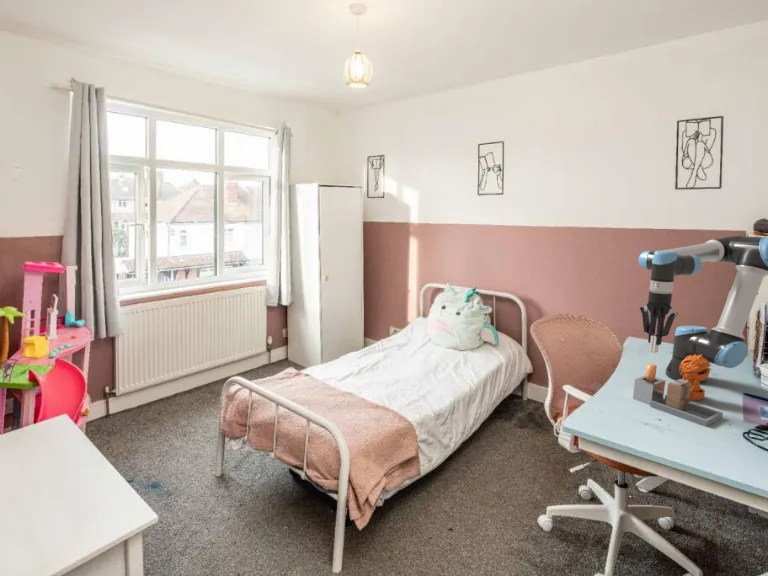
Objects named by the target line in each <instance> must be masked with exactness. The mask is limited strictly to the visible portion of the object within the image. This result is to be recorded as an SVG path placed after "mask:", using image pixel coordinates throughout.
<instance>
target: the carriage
mask: <svg viewBox="0 0 768 576" xmlns="http://www.w3.org/2000/svg"><path fill="white" fill-rule="evenodd" d="M691 385H692V383H690V382H688V381H685V380H682V379H678V380H673V381H671V382H669V383H667V389H666V395H667V396H666V400H665V404H664V405H667V406H669V407H672V408H675V409H678V410H681V411H684V412H685V411H687V410H688V409H689V408H688V407H689V402H690V401H691V400H690V393H691Z"/></svg>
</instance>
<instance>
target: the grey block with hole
mask: <svg viewBox="0 0 768 576" xmlns="http://www.w3.org/2000/svg"><path fill="white" fill-rule="evenodd" d="M665 386H666V379H662V378H658V377H656V376H655V381H654V382H650V381H647V380H646V374H645V375H643V376H641V377H637V378H635V379H634V385H633V394H632V399H633V400H635V399H636V401H639V402H642V403H643V404H646V405H649V406H650V403H651V401H655V402H658V403H660V402H661V401H664V397H665V388H666V387H665Z"/></svg>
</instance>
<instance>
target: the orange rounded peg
mask: <svg viewBox="0 0 768 576" xmlns="http://www.w3.org/2000/svg"><path fill="white" fill-rule="evenodd" d="M656 374H657V365H656V364H653V363H647V364H646V371H645V375H646V380H647V381H650V382H654V381H655V377H656Z"/></svg>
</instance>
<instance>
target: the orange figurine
mask: <svg viewBox="0 0 768 576" xmlns="http://www.w3.org/2000/svg"><path fill="white" fill-rule="evenodd" d="M701 356H702V355H698V356H697V355H696V354H694V356H692V355H690V356H687V357H686V358H685V359H684V360H683V361H682V362H681V364H680V366H679V372H680V370H681V371H682V372H680V374H681V375H683V379H682V380H685V381H688V382H690V383H692V385H691V393H690V400H689V401H693V402H697V401H699V400H702V399H705V397H706V396H705V395H706V394H705V392H706V391H705V389H704V388H702V387H701V383H700V382H699V381H703V380H705V379H706V380H707V378H708V377H709V375H710V373H711V370H712V368H710V366H711V363H710V362H708V360H706V359H705V358H703V357H701ZM701 398H702V399H701Z"/></svg>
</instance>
